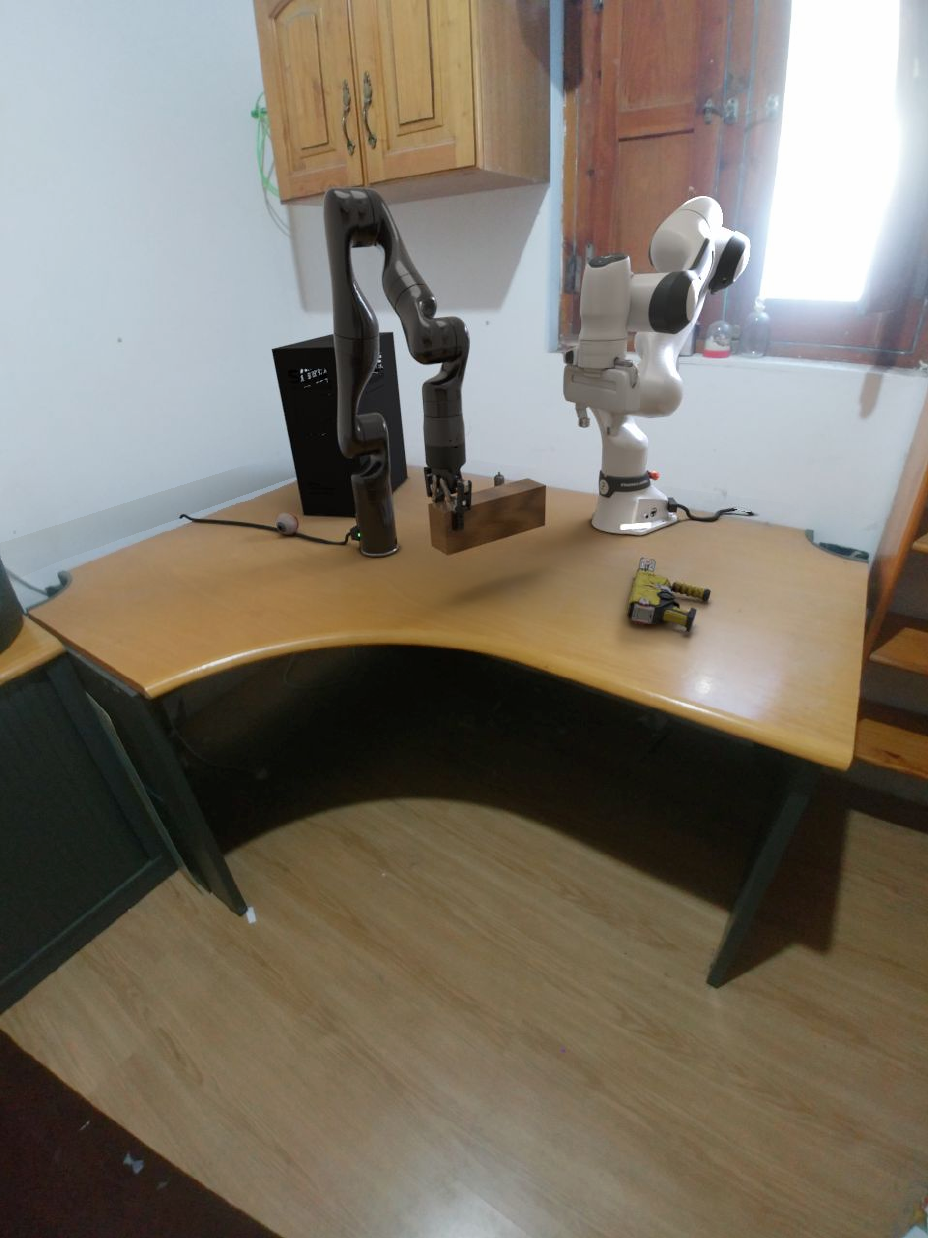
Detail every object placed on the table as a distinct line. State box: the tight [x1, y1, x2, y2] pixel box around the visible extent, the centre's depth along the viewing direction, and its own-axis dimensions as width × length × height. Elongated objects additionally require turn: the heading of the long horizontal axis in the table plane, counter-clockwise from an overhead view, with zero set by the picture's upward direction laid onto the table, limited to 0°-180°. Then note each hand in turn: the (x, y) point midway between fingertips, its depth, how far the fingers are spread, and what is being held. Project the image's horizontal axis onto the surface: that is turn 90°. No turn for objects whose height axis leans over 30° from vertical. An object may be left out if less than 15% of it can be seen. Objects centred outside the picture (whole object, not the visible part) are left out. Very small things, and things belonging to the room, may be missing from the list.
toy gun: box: [626, 557, 712, 633], centre depth 120 cm, size 5×24×15 cm
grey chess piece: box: [493, 471, 505, 487], centre depth 168 cm, size 6×6×12 cm
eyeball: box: [275, 511, 300, 536], centre depth 163 cm, size 6×6×6 cm
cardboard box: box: [271, 331, 409, 517], centre depth 180 cm, size 38×20×45 cm, turn 167°
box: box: [427, 477, 547, 557], centre depth 123 cm, size 25×6×9 cm, turn 123°
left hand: (449, 524), depth 119 cm, fingers closed on box, 6 cm apart
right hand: (597, 431), depth 119 cm, fingers open, 8 cm apart
